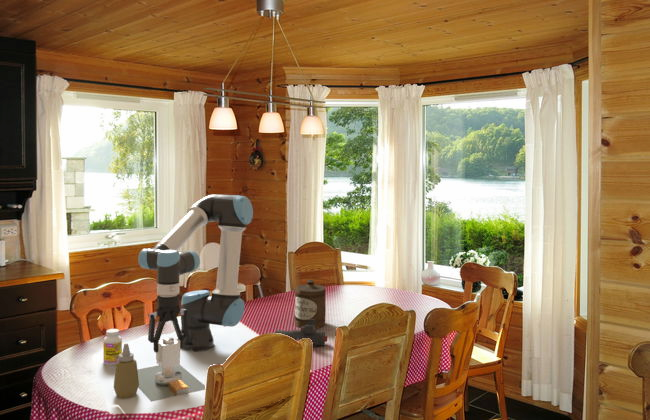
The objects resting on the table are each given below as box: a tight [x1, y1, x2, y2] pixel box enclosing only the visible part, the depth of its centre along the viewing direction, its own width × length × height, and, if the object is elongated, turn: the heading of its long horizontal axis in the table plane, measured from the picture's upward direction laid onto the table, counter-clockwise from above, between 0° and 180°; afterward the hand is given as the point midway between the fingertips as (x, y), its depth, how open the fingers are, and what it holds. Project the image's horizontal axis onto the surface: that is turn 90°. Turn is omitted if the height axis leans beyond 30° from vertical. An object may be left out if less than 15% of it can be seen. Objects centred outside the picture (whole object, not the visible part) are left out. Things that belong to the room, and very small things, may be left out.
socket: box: [156, 336, 181, 368], centre depth 206 cm, size 6×6×9 cm
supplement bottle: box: [103, 328, 123, 366], centre depth 225 cm, size 7×7×13 cm
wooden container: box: [294, 279, 327, 329], centre depth 282 cm, size 15×15×22 cm
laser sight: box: [274, 319, 328, 347], centre depth 253 cm, size 10×22×10 cm, turn 87°
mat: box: [137, 364, 206, 402], centre depth 209 cm, size 20×30×1 cm, turn 35°
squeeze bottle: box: [113, 343, 139, 400], centre depth 195 cm, size 8×8×18 cm
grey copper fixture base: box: [155, 366, 189, 397], centre depth 203 cm, size 18×9×6 cm, turn 35°
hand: (168, 358), depth 206 cm, fingers closed on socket, 6 cm apart
